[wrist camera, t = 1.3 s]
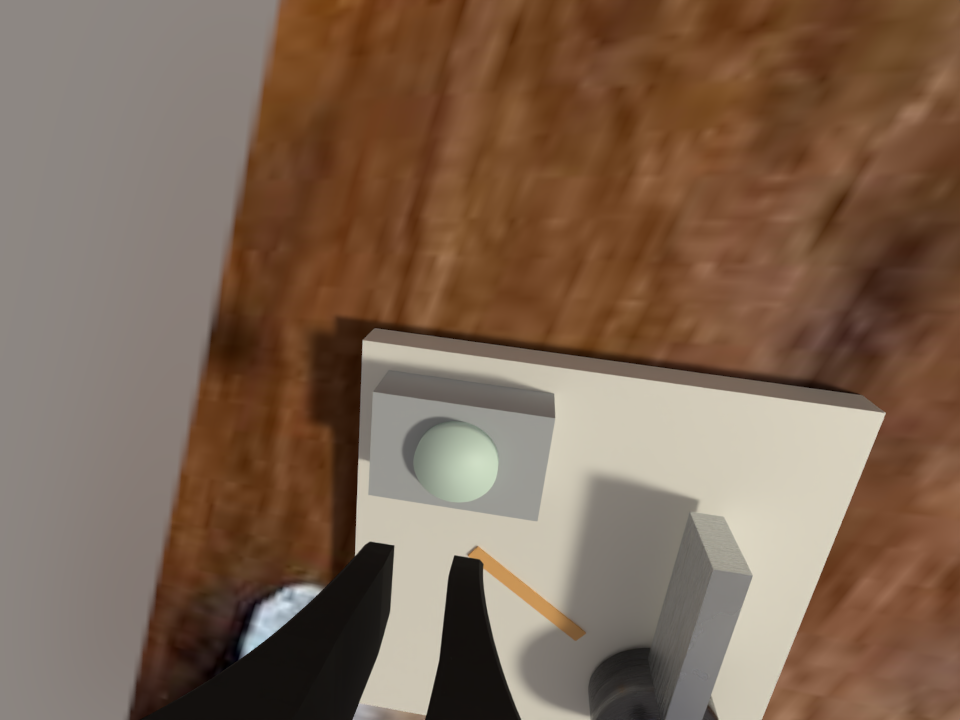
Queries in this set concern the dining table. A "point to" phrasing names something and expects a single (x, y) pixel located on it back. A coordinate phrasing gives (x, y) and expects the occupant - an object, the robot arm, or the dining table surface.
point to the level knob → (680, 634)
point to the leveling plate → (589, 507)
